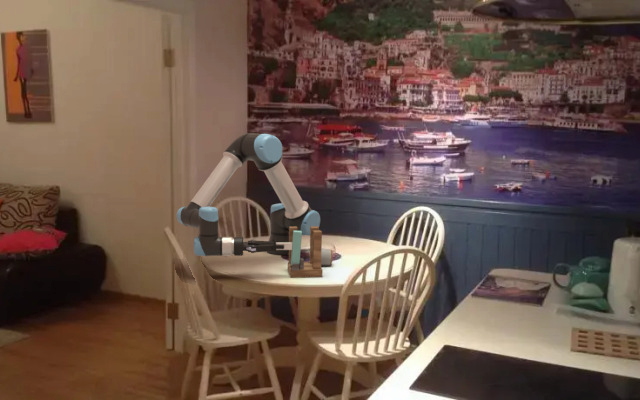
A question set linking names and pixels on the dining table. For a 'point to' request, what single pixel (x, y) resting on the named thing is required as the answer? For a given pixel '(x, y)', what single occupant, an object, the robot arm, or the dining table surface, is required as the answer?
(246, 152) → the robot arm
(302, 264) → the upturned wooden stool
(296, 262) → the hinged leg
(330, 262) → the ceramic mug
